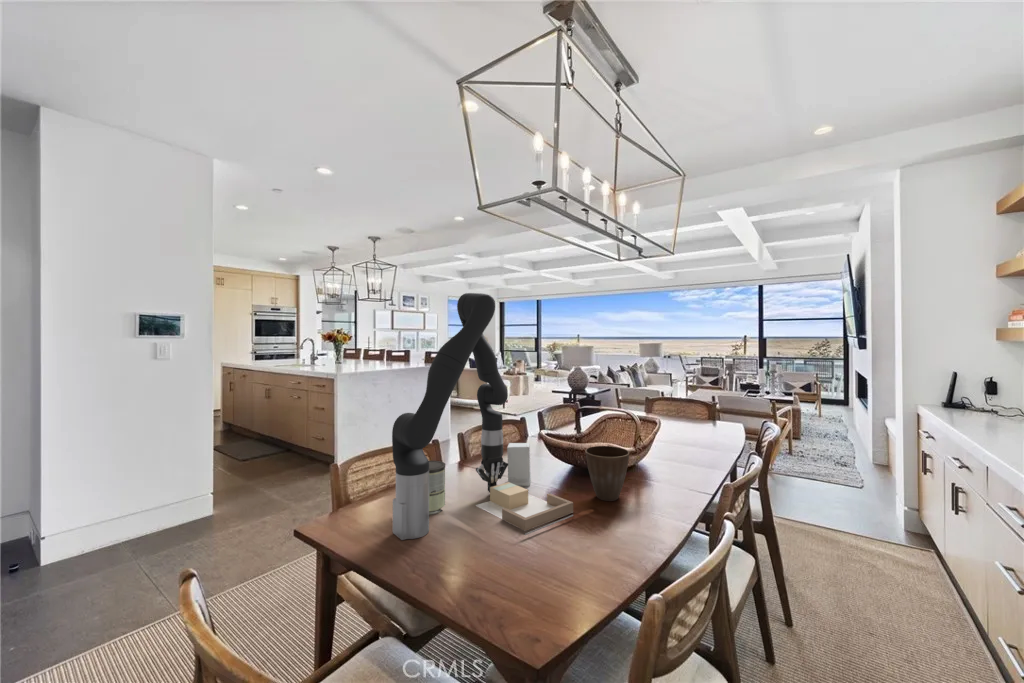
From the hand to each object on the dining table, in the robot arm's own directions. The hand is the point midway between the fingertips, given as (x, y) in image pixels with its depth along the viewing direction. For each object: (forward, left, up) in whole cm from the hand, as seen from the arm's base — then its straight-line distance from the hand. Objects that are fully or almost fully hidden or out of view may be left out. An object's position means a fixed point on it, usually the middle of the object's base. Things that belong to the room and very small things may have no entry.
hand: (492, 492), depth 143 cm
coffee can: (-21, +6, -2) cm, 22 cm away
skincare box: (+15, +3, -2) cm, 16 cm away
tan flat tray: (0, -16, -2) cm, 16 cm away
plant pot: (+31, -25, -2) cm, 40 cm away
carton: (0, -9, -1) cm, 9 cm away
